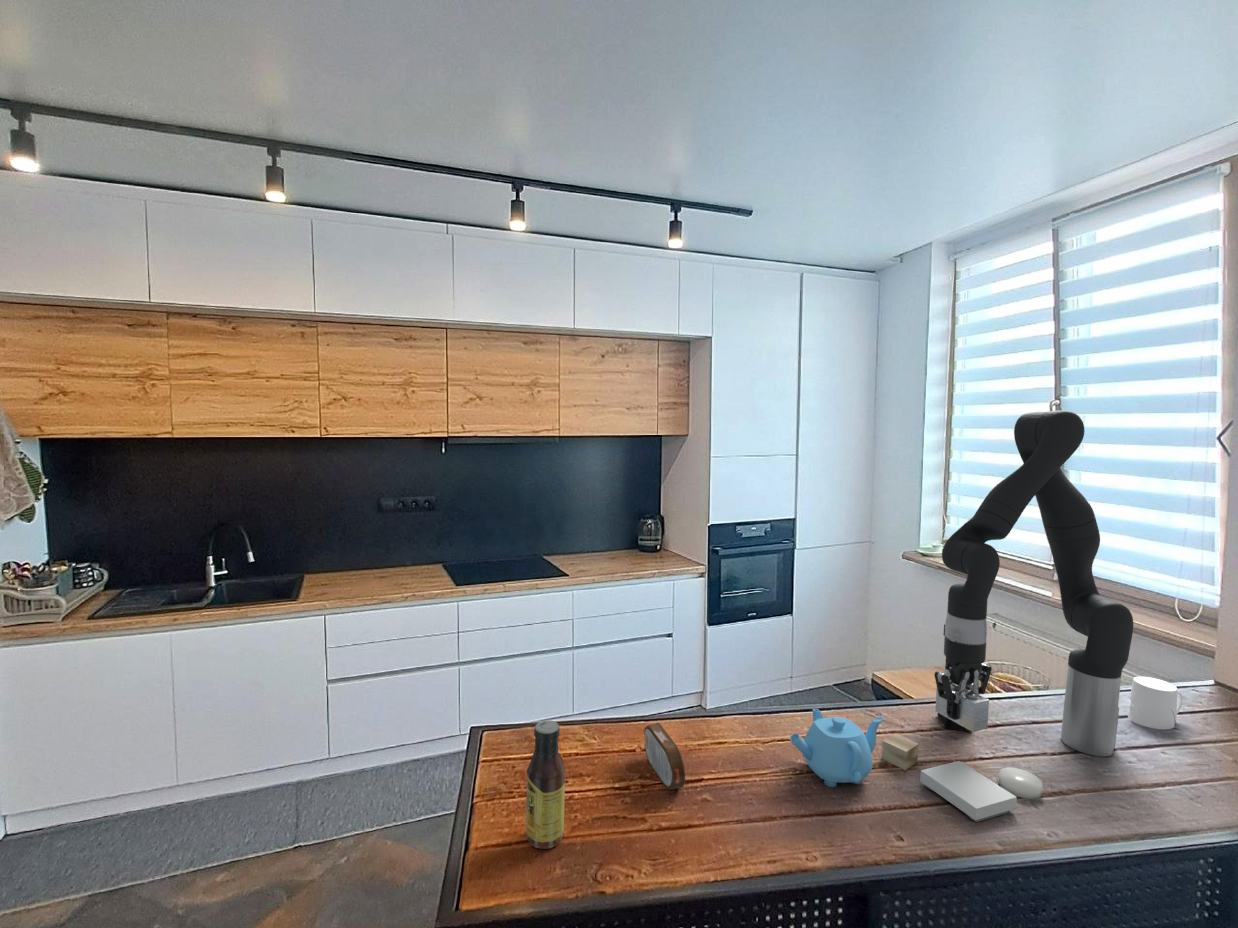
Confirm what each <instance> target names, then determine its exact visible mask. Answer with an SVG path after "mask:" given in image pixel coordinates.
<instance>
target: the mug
mask: <svg viewBox="0 0 1238 928" xmlns="http://www.w3.org/2000/svg"><path fill="white" fill-rule="evenodd" d="M1132 679H1133V680H1132V685H1131V690H1130V693H1129V694H1130V695H1129V701H1130V704H1129V709H1128V713H1127V718H1128V720H1129V721H1131V722H1133V723H1134V724H1136V725H1138V726H1142V727H1146V728H1149V729H1155V730H1170V729H1173V728H1175V724H1176V723H1177V718H1178V717H1177V716H1178V713H1180V712H1181V709H1182V706H1183V699H1184V698H1183V695H1182V693H1181V692H1180V691H1179V690H1178V688H1177V686H1176V685H1174V684H1172V683H1170V682H1168V681H1165V680H1162V679H1159V678H1155V677H1151V676H1134V677H1133V678H1132Z"/></svg>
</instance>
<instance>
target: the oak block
mask: <svg viewBox="0 0 1238 928" xmlns="http://www.w3.org/2000/svg"><path fill="white" fill-rule="evenodd" d="M919 746H920V744H919V743H918V742H915V741H913V740H911V739H908V738H906V737H905V736H902V735H900V734H898V733H893V734H892V735H890V736H888V737H887V738H885V739H883V740H882V747H881V748H882V749H881V751H882V752H881V759H882V760H884V761H886V762H888V763H890V764H892V765H894V766H896V767H898V768H900V769H903V770H904V771H906V770H907V769H909V768H911V767H912V766H914V765H915V764H916V763H918V760H919V750H920V749H919Z"/></svg>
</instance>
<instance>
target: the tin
mask: <svg viewBox="0 0 1238 928" xmlns="http://www.w3.org/2000/svg"><path fill="white" fill-rule="evenodd" d="M643 731H644V733H643V734H644V749H645V750H644V751H645V753H646V757H647V760H648V762H649V764H650V767H652V769H653V771H654V772H655V774H656V775H657V776H658V778H659V780H660V781H661V783H662V784H663V786H664V787H665V788H666V789H667V790H668V791H672V790H675V789H682V788H684V786H685V785H686V783H685V782H686V771H685V764H684V759H683V756H682V754H681V751H680V748H679V747H678V744H677V743H676V742H675V741H674V739H673V738H672V737H671V736H670V735H669V733H668V732H667V730H666V729H665V728H664V727H663V725H662V724H661V723H660V722H655V723H652V724H648V725H646V726H645V727H644V729H643Z"/></svg>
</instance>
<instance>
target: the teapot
mask: <svg viewBox="0 0 1238 928" xmlns="http://www.w3.org/2000/svg"><path fill="white" fill-rule="evenodd" d="M821 711H822V710H819V708H812V722H813V723H811V725H810V727H809V728H808V730H807V732H806V734H805V737H804V739H803V738H802V736H801V735H799V734H798V733H793V734H791V736H790V738H789V742H791V744H792V745H793V746H794V747H795V748H796V749H797V750H798V751H799V752H800V753H801V754H802V756H803V758H804V760H805V762H806V765H808V767H809V768H810V769H811V771H813V773H814V774H815V775H817V776H818V778H820V779H822V780H824V782H823V784H824V785H825V786H827V787H829V788H835V787H836V786H837V783H852V784H855V785H861V784H863V781H862V780H863V779H866V777H867V776H869V775H870V773H871V772H872V770H873V756H872V755H873V754H872V753H873V752H874V750H875V748H876V744H877V731H878V727H879V726H880V724H881V723H882V722H883V721H884V719H885V717H882V716H880V717H876V718H874V719H873V720H872V721H871V722H870V723H869V725H868V727H867V730H866V732H864V731H863V730H862V729H861V728H860V727H859V726H858V725H857V724H856V723H854V722H853V721H852V720H850V719H848V718H845V717H840V716H833V717H831V716H830V717H824V716H823V715H822V713H821Z"/></svg>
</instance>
